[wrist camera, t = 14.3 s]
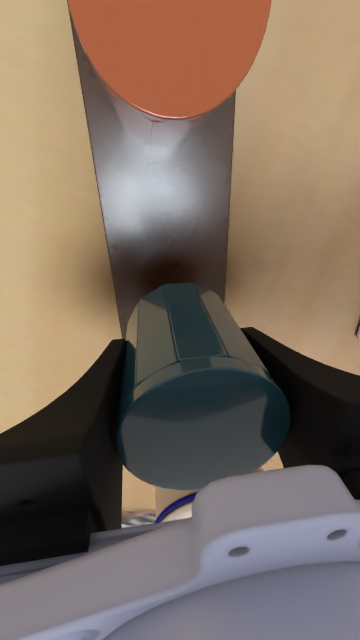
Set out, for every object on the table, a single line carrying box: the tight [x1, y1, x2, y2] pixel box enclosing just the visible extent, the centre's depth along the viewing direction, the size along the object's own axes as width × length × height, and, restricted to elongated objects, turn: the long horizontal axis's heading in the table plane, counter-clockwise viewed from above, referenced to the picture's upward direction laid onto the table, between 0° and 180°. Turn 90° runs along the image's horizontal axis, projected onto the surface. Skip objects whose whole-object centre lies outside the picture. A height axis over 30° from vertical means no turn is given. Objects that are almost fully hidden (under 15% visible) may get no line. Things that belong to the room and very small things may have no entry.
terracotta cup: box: [68, 0, 271, 146], centre depth 10 cm, size 6×6×7 cm
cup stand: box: [67, 0, 236, 339], centre depth 14 cm, size 8×20×6 cm, turn 2°
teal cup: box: [115, 282, 291, 490], centre depth 11 cm, size 6×6×7 cm
